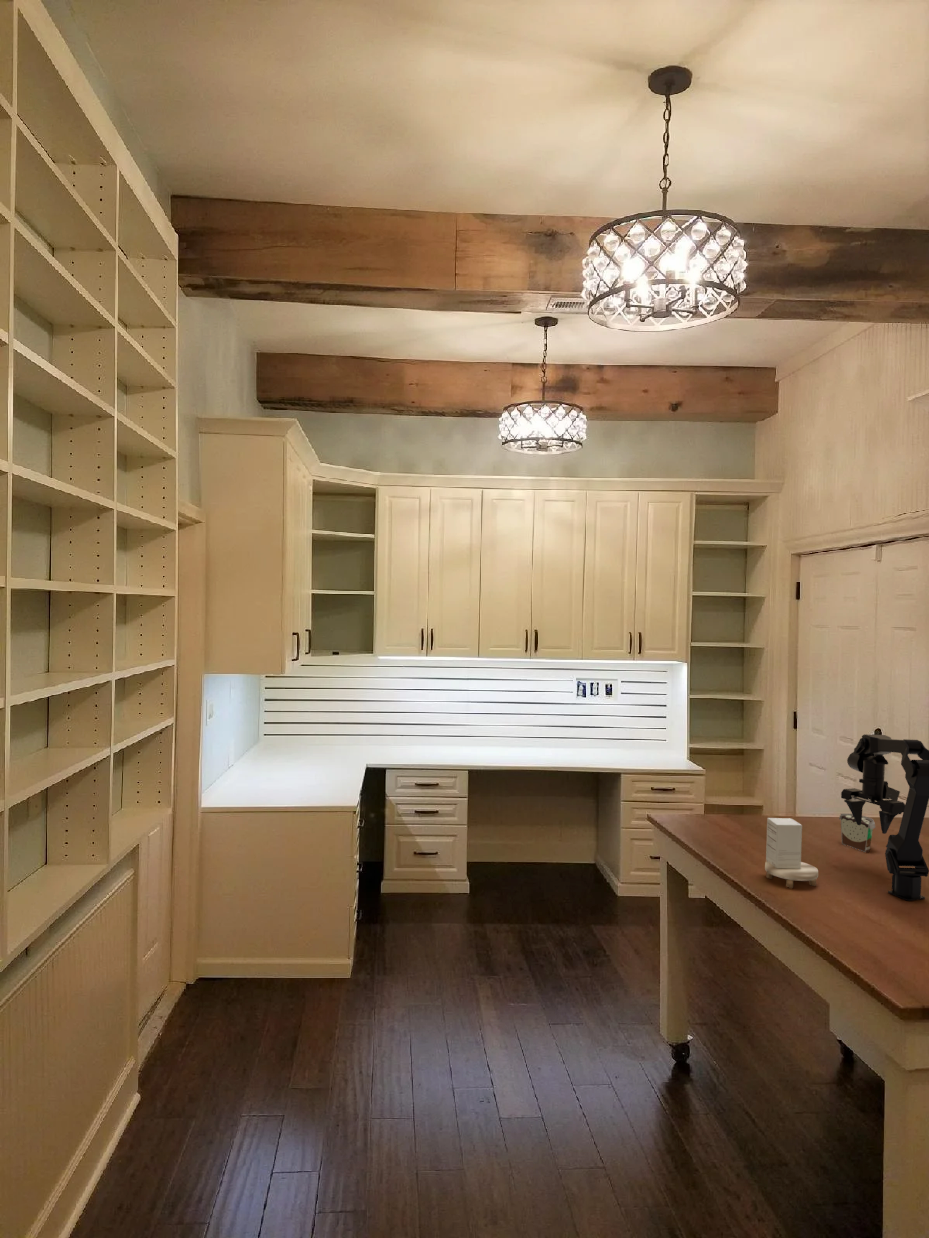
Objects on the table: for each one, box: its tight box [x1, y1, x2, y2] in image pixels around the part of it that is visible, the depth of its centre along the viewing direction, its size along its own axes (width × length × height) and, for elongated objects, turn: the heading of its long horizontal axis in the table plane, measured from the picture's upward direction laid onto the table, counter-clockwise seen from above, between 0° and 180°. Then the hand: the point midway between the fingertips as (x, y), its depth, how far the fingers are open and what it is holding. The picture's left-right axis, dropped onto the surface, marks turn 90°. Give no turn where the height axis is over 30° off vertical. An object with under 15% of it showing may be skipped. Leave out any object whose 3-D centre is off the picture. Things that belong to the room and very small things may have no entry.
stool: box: [764, 860, 819, 889], centre depth 224 cm, size 14×14×4 cm
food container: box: [838, 812, 876, 853], centre depth 259 cm, size 12×6×10 cm, turn 22°
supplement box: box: [765, 817, 803, 869], centre depth 226 cm, size 7×7×13 cm
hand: (871, 829), depth 233 cm, fingers open, 9 cm apart
